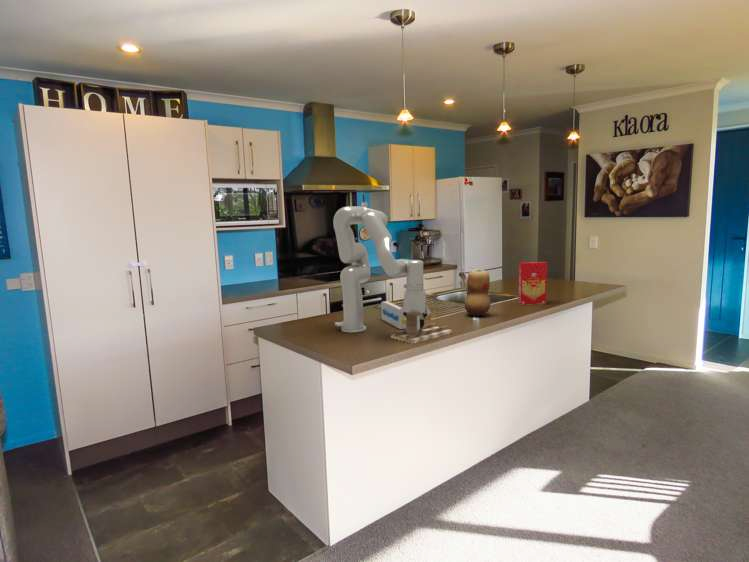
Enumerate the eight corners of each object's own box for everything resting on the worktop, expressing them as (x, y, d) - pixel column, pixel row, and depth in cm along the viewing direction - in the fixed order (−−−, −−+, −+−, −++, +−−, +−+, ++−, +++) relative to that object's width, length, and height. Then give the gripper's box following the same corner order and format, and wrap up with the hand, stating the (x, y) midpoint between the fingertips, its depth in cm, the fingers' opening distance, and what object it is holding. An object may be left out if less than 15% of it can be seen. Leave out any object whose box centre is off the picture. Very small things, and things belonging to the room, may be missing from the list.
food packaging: (520, 305, 282) (521, 263, 279) (518, 303, 288) (519, 262, 284) (546, 304, 282) (547, 262, 278) (543, 303, 287) (544, 261, 283)
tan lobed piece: (478, 319, 249) (478, 272, 246) (459, 315, 260) (459, 270, 257) (495, 315, 257) (496, 269, 254) (476, 311, 268) (477, 267, 265)
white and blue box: (380, 319, 257) (379, 301, 256) (386, 318, 258) (386, 300, 257) (403, 332, 227) (402, 312, 225) (410, 332, 228) (410, 311, 227)
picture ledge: (412, 343, 207) (411, 337, 207) (390, 337, 218) (390, 331, 218) (452, 333, 223) (452, 326, 223) (431, 328, 234) (431, 322, 234)
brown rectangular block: (416, 334, 210) (416, 314, 209) (405, 334, 212) (405, 314, 211) (425, 327, 223) (424, 308, 222) (414, 326, 225) (414, 308, 224)
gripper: (394, 288, 214) (395, 327, 217) (431, 289, 208) (431, 330, 211) (399, 285, 221) (400, 324, 224) (435, 286, 215) (435, 326, 218)
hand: (415, 326), depth 217 cm, fingers closed on brown rectangular block, 5 cm apart
